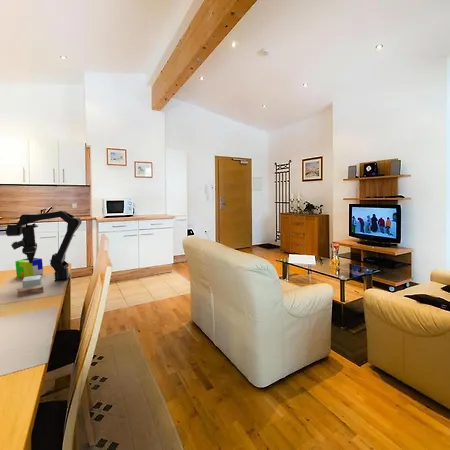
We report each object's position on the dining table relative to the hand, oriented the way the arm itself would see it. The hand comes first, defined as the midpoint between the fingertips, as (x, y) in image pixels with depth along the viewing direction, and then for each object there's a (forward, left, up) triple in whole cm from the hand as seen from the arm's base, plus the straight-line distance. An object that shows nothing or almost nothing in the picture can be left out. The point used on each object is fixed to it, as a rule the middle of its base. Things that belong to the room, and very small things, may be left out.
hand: (31, 261), depth 166 cm
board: (-8, +21, -12) cm, 26 cm away
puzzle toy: (+8, -15, -12) cm, 21 cm away
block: (-4, +10, -12) cm, 16 cm away
